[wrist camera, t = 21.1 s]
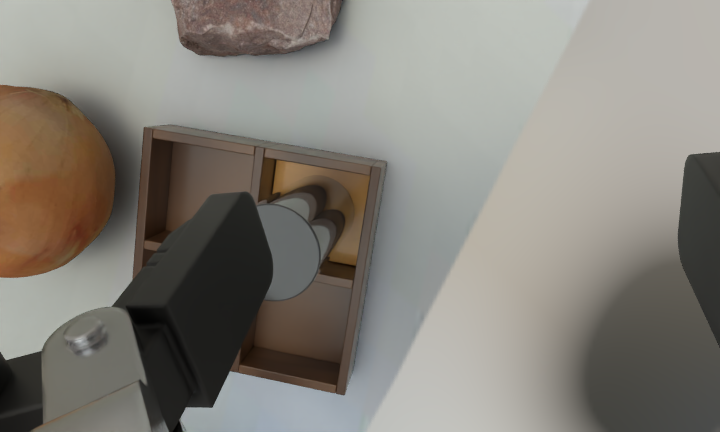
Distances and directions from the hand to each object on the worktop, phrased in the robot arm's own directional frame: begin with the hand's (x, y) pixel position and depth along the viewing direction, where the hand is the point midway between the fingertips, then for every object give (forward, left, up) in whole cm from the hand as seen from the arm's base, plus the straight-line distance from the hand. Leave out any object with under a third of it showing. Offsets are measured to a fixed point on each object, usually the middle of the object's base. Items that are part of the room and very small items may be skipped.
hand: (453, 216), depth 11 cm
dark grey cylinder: (+6, +5, -20) cm, 21 cm away
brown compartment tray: (+9, +8, -20) cm, 24 cm away
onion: (+21, +5, -21) cm, 30 cm away
